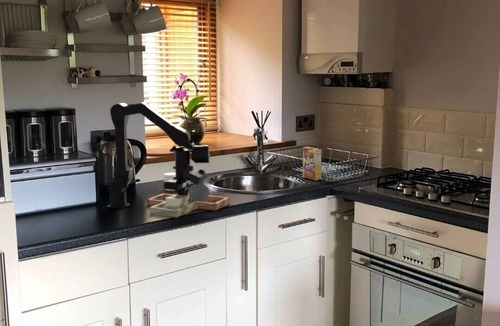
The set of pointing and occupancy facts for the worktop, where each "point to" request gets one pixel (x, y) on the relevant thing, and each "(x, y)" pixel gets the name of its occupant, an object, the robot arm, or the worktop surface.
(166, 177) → the white cup
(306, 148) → the candy box
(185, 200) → the cream block
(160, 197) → the channel
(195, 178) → the robot arm
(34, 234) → the worktop surface
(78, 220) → the worktop surface
